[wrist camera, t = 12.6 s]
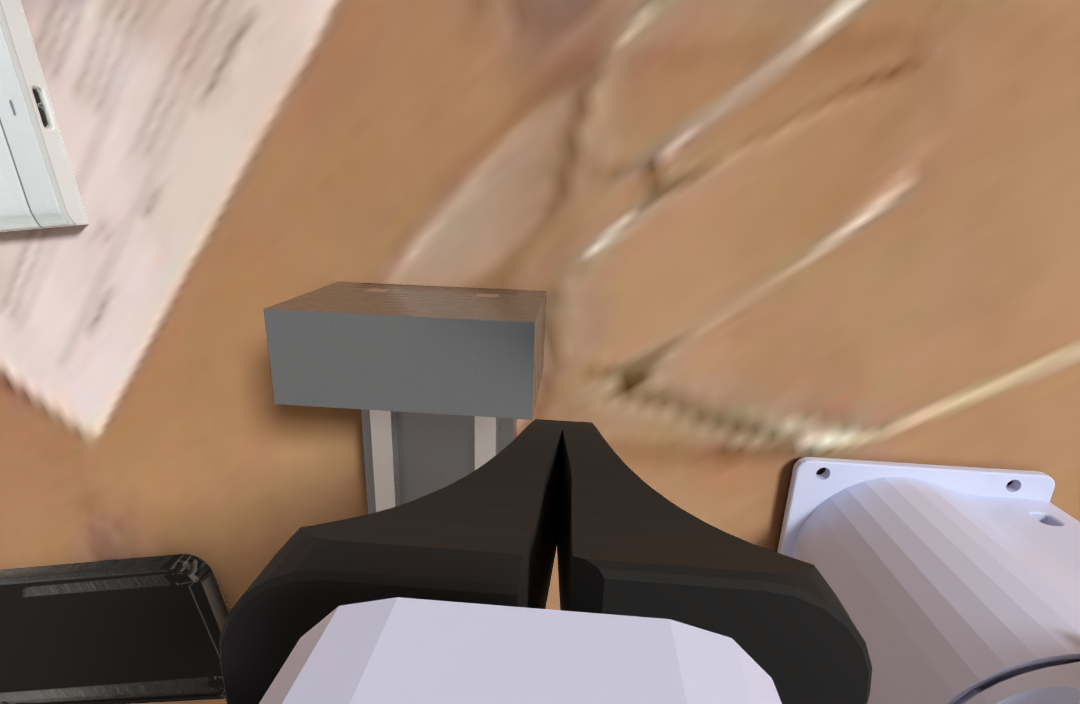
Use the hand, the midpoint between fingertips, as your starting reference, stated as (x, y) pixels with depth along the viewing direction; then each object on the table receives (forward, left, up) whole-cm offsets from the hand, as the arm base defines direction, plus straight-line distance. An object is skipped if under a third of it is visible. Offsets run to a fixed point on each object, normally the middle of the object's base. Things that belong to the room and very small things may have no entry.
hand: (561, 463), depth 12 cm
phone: (+23, +16, -10) cm, 30 cm away
